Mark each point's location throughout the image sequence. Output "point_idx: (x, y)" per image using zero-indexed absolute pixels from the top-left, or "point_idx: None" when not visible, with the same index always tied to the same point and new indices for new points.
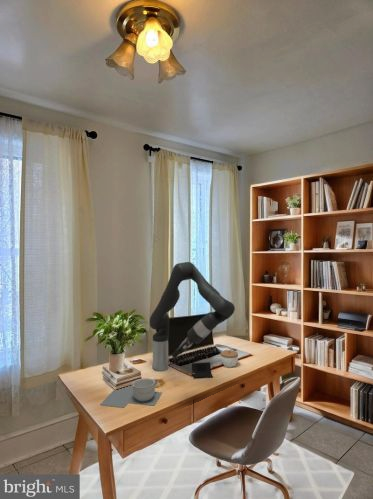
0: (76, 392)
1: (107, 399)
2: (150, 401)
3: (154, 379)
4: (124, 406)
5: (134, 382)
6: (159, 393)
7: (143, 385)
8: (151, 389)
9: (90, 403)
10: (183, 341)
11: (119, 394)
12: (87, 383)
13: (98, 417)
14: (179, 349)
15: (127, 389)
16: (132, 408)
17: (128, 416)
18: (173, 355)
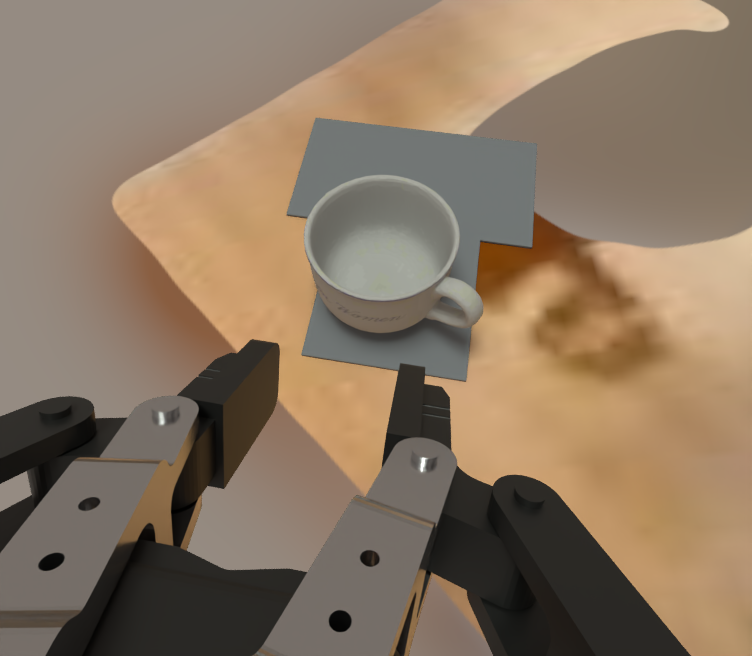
0: (424, 17)
1: (363, 133)
2: (348, 327)
3: (449, 293)
4: (296, 214)
5: (401, 184)
6: (450, 364)
7: (442, 249)
8: (335, 300)
9: (330, 85)
10: (313, 568)
11: (417, 168)
12: (516, 27)
13: (211, 140)
14: (45, 460)
15: (477, 190)
16: (280, 252)
17: (205, 250)
18: (218, 366)
